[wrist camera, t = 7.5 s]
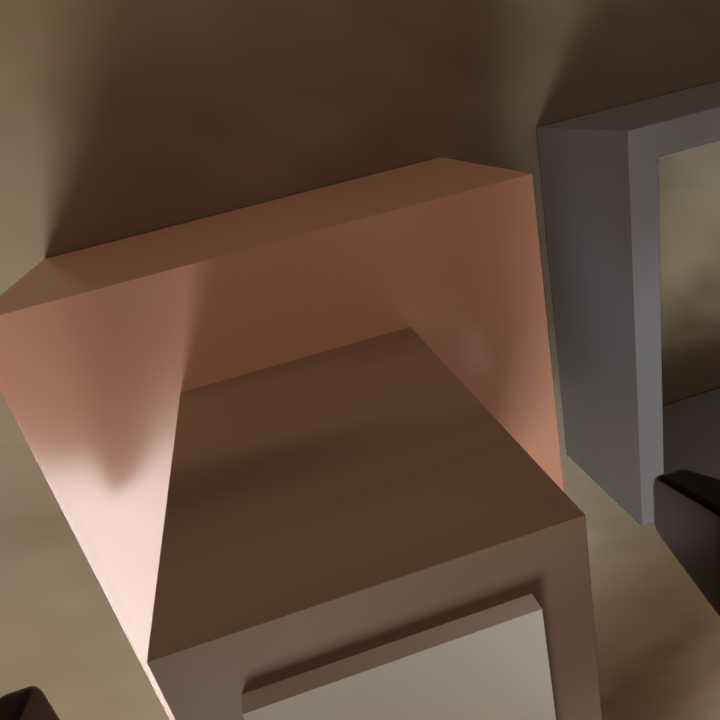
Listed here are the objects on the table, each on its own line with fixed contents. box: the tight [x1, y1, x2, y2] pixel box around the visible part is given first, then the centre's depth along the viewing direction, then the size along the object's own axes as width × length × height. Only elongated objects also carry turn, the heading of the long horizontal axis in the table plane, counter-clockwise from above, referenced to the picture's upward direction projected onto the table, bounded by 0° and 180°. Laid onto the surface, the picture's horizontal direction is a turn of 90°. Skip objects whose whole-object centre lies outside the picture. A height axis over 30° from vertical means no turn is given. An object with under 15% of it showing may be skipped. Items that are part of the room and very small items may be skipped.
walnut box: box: [147, 327, 602, 720], centre depth 9 cm, size 5×4×6 cm
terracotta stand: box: [0, 157, 564, 720], centre depth 13 cm, size 9×9×4 cm
